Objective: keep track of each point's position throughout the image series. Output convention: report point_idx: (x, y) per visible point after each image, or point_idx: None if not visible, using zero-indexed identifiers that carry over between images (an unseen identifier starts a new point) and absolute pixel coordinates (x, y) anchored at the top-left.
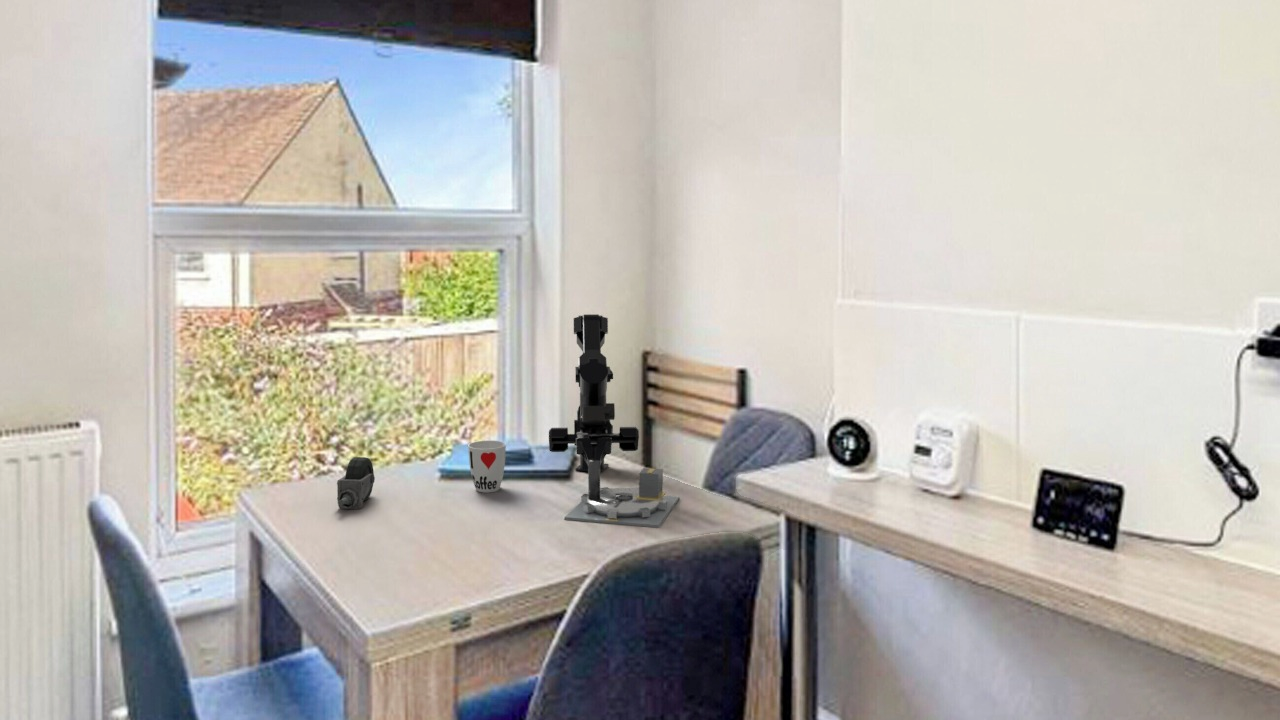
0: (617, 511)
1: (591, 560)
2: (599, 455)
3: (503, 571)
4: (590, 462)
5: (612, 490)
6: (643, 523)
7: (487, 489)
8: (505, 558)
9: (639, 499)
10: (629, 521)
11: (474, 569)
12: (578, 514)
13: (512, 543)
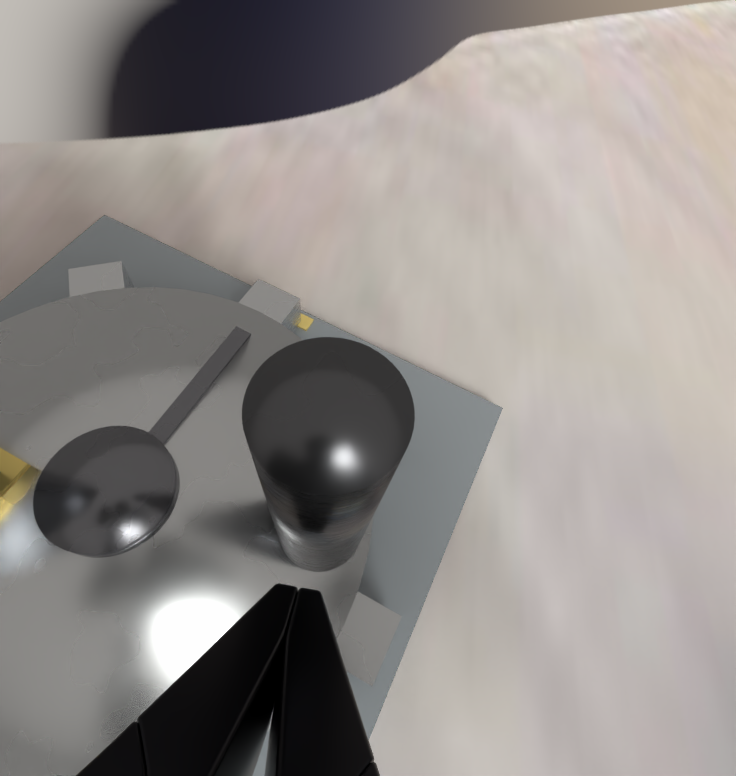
0: (247, 296)
1: (426, 82)
2: (131, 768)
3: (645, 91)
4: (390, 367)
5: (107, 736)
6: (159, 244)
7: None
8: (660, 146)
9: (27, 434)
10: (209, 280)
11: (719, 115)
12: (429, 430)
13: (669, 229)
